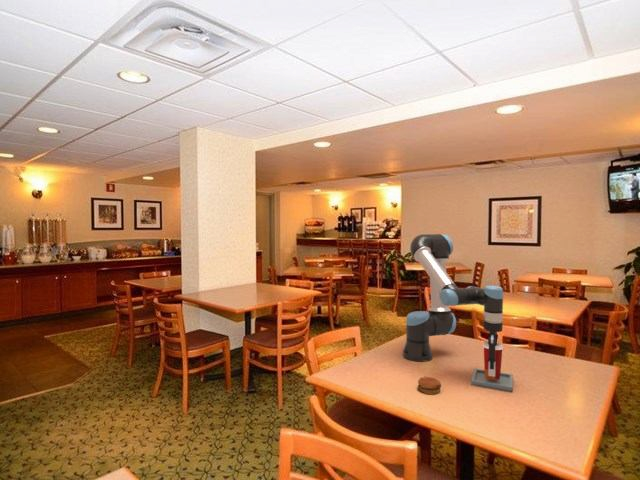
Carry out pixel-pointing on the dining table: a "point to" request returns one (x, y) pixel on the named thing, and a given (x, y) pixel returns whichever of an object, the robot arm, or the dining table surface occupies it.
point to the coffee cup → (497, 358)
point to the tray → (492, 381)
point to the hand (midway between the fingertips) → (492, 372)
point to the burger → (429, 385)
